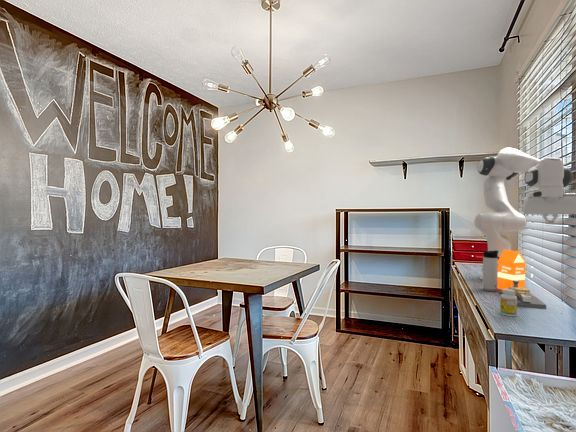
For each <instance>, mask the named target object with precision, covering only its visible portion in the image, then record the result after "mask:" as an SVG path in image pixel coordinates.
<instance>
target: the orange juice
mask: <svg viewBox="0 0 576 432" xmlns="http://www.w3.org/2000/svg"><path fill="white" fill-rule="evenodd" d="M512 280H517V281H519V283H518V287H520V288H526V287H525V286H526V261H525V259H524V257H523V255H522V253H521V251H517V250H512V249H511V250H504V251H503V253H502V254H501V256H500V258H499V260H498V282H497V290H503V289H509V287H511V286H513V282H512Z"/></svg>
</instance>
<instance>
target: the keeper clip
mask: <svg viewBox="0 0 576 432" xmlns="http://www.w3.org/2000/svg"><path fill="white" fill-rule="evenodd" d="M509 289H512V290H515V294H514V295H515V296H516V292H528V293H531V290H530V289H529V288H527V287H525V288H517V287H509Z"/></svg>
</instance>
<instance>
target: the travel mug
mask: <svg viewBox="0 0 576 432" xmlns="http://www.w3.org/2000/svg"><path fill="white" fill-rule="evenodd" d="M498 252H499V251H488V250H485V251H483V253H482V255H483V257H482V267H483V271H482V274H483V280H482V290H483V291H485V292H492V293H493V292H494V293H495V292H497V291H498V282H497V268H498Z"/></svg>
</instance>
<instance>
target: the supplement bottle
mask: <svg viewBox="0 0 576 432" xmlns="http://www.w3.org/2000/svg"><path fill="white" fill-rule="evenodd" d="M503 293H504V294H500V305H499V306H500V310H499V311H500V314H501V315H503V316H505V315H506V317H516V316H517V315H518V306H517V297H516V296H515V295H514V294H515V290H512V289H503Z"/></svg>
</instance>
